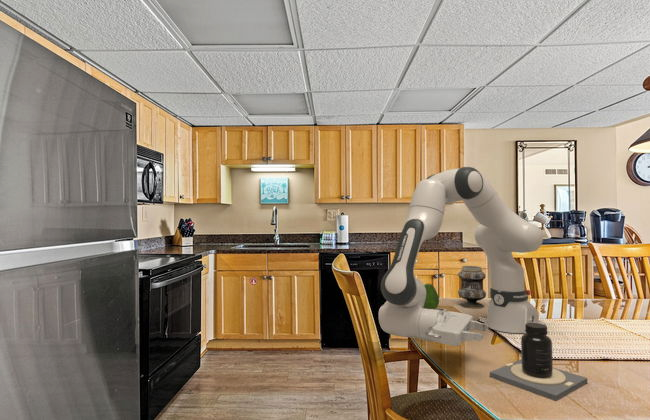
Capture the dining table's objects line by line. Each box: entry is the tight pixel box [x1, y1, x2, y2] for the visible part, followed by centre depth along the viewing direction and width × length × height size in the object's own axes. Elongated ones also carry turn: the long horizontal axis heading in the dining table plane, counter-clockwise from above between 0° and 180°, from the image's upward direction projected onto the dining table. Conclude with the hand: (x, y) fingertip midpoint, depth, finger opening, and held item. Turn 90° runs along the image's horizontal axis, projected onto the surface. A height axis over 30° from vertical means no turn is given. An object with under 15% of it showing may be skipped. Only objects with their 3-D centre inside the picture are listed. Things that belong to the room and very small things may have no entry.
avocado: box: [424, 283, 440, 309], centre depth 168 cm, size 8×8×12 cm
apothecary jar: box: [457, 265, 487, 309], centre depth 177 cm, size 12×12×18 cm
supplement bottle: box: [520, 323, 554, 378], centre depth 96 cm, size 7×7×12 cm
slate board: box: [489, 358, 588, 402], centre depth 97 cm, size 16×16×2 cm
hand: (485, 332), depth 103 cm, fingers open, 8 cm apart
